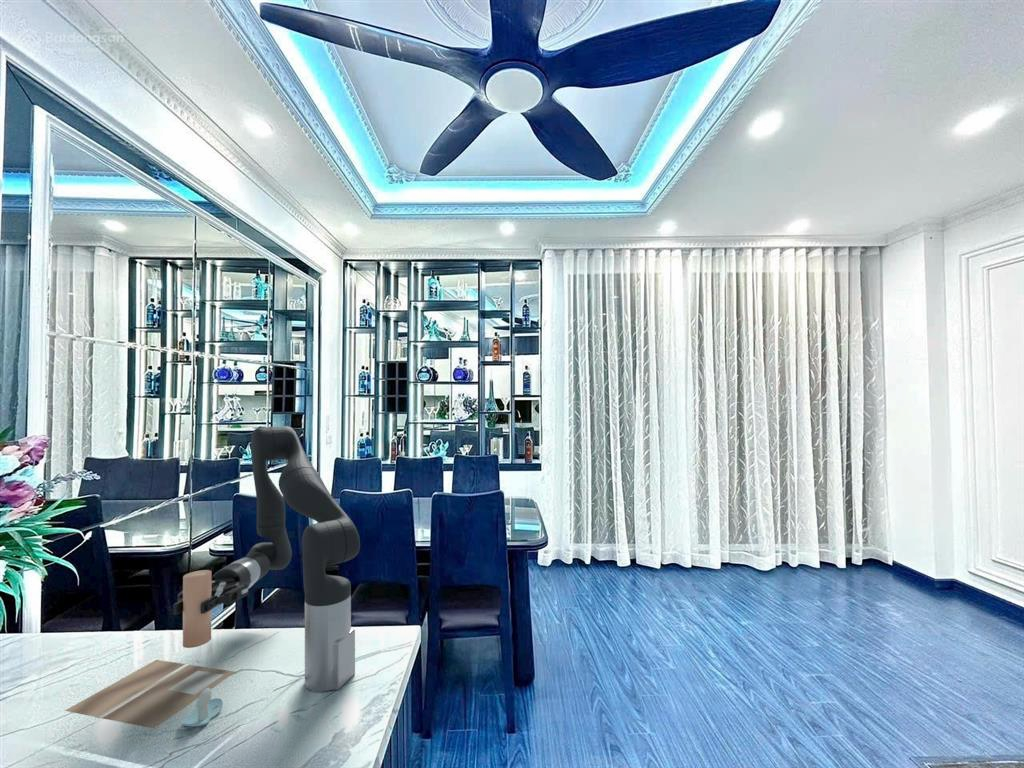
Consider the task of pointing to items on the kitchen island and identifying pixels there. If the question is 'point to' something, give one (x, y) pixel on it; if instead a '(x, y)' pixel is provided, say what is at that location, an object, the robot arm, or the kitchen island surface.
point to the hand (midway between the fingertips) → (189, 609)
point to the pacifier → (202, 710)
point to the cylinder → (196, 608)
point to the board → (151, 693)
